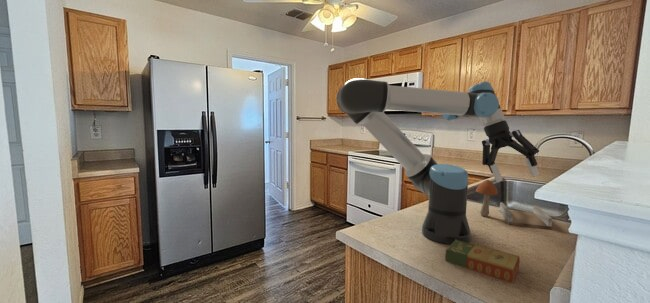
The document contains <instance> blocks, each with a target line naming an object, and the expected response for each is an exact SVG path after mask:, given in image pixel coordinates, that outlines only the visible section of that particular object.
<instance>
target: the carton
mask: <svg viewBox="0 0 650 303" xmlns="http://www.w3.org/2000/svg"><path fill="white" fill-rule="evenodd" d="M444 260H445V261H446V262H447V263H450V264H453V265H456V266H460V267H462V268H466V269H468V270H471V271H474V272H478V273H480V274H483V275H487V276H489V277H493V278H497V279H499V280H502V281H506V282H508V283H511V284H514V281H515V279H516V277H517V274H518V273H519V271H520V270H519V269H520V256H519V255H515V254H513V253H509V252H505V251H500V250H496V249H493V248H489V247H485V246H481V245H478V244H474V243H471V242H468V243H467V242H463V241H459V240H455V241H454V242H453V243H452V244H449V245H448V247H446V249H445V259H444Z"/></svg>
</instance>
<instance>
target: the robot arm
mask: <svg viewBox="0 0 650 303" xmlns="http://www.w3.org/2000/svg"><path fill="white" fill-rule="evenodd" d="M336 105H337V106H338V109H339V110H340V111H341V112H342V113H344V114H346V115H347V116H348V118H350V120H352V121H353V122H354V124H356V125H362V126H364V128H365V129H366V130H367V131H368V132H369V133H370V134H371V135H372V136H373V138H375V139H376V141H378V143H380V145H382V147H384V149H385V150H387V152H388V153H389V155H391V156H392V157H393V158H394V160H396V161H397V162H398V163H399V164H400V165H401V167H403V168H404V169H405V170H404V175H405V176H406V177H407V178H408V180H410V182H411V184H412V185H413V187H415V188H416V189H417V190H418V191H419V192H421V193H423V194H424V195H426V196H427V197H428V206H427V207H428V210H427V213H426V216H425V218H424V220H423V223H422V226H421V234H422V235H423V236H424V237H425V238H427V239H429V240H431V241H433V242H436V243H441V244H447V245H451V244H452V243H453V242H454V241H455V240H459V241H463V242H467V243H470V241H471V238H472V237H471V236H472V232H471V228H470V225H469V221H468V218H467V202H468V187H469V184H470V183H469V174H468V171H467V170H466V169H465V168H463V167H461V166H458V165H453V164H449V163H438V162H437V161H436V160H435V159H434V158H433V157H432V156H431V155H430V154H427V153H422V152H421V151H420V149H419V148H418V147H417V146H416V145H415V144H414V143H413V142H412V141H411V139H409V138H408V136H406V134H405V133H404V132H403V131H402V130H401V129H400V128H399V127H398V126H397V125H396V124H395V122H394V121H392V119H390V117H389V116H388V115H387V114H386V113H385V111H387V110H388V111H389V110H390V111H403V112H413V113H414V112H417V113H428V114H439V115H440V114H441V115H442V117H443V119H445V120H446V121H453V120H457V119H459V118H479V120H480V123H481V126H482V127H483V131H484V133H485V135H486V136H487V139H484V140H482V141H481V144H482V161H481V162H482V163H481V164H482V165H483V166H488V168H489V171H490V173H491V174H493V177H494V179H495V182H496V183H500V182H502V181H503V180H504V179H503V177H502V176H503V175H502V174H501V171H500V169H499V166H498V164H497V163H496V162H495V161H496V158H497V155H498V152H499V150H500V149H502V148H507V147H509V148H512V149H513V150H515V151H516V152H518V153H520V154H521V155H523V156H524V157H525V158H524V160H525V163H526V165H527V168H528V170H529V173H530V174H531V177H532V178H535V177H537V176H539V175H540V172H539V170H538V168H537V166H538V162H537V159H536V157H535V155H536V154H538V153H540V150H539V149H538V148H537V147H536V145H534V144H533V143H532V142H530V140H528V139H527V138H526V137H525V136H524V135H523V134H522V132H521V131H520V129H515V130H512V132H511V131H510V128H509V127H510V126H509V124H508V122H507V120H506V118H505V114H504V112H503V110H502V107H501V106H500V101H499V98H498V97H497V96H496V93H495V90H494V88H493V86H492V84H491V82H489V81H482V82H480V83H476V84H473V85H472V86H471V87H469V88H468V92H467V91H457V90H456V91H455V90H454V91H453V90H445V89H434V88H423V87H422V88H421V87H411V86H403V85H402V86H399V85H390V84H389V83H388V81H381V80H374V79H369V78H360V77H358V78H357V77H356V78H352V79H350V80H347V81H346V82H345V83H344V85H342V86H341V87H340V88H339V90H338V92H337V94H336Z"/></svg>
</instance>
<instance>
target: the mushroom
mask: <svg viewBox="0 0 650 303" xmlns="http://www.w3.org/2000/svg"><path fill="white" fill-rule="evenodd" d="M475 192H477V193H478V194H482V195H483V201H482V206H481V209H480V213H479V214H480V215H481V217H488V216H489V215H490V198H491V196H495V195H498V194H499V191H498V189H497V186H496V185H495V184H494V182H492V181H491V180H489V179H485V180H484V181H482V182H481V183H480V184H479V185H478V186H477V187H476V189H475Z"/></svg>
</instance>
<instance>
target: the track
mask: <svg viewBox="0 0 650 303" xmlns="http://www.w3.org/2000/svg"><path fill="white" fill-rule="evenodd" d="M498 211H499V213H500V215H501V216H502V217H503V218H504V220H505V221H506V223H507V224H508V225H510V226H519V227H527V228H529V227H530V228H535V229H536V228H537V229H544V230H546V229H547V230H552V225H553V218H552V217H551V216H550V215H548V213H546V212H545V211H544V210H543V209H542V208H540V207H539V206H538V205H536V204H535V205H533V212H531V211H522V210H521V211H520V210H510V209H509V208H508V207H507V206H506V204H505V203H504V202H502V201H501V202H499V210H498Z"/></svg>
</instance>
